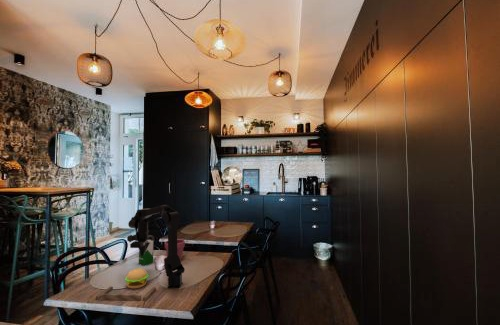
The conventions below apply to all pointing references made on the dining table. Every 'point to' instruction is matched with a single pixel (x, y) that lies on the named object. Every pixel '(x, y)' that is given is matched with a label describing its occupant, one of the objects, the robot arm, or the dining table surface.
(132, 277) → the hamburger
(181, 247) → the plant pot
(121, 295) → the frame
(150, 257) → the milk carton
